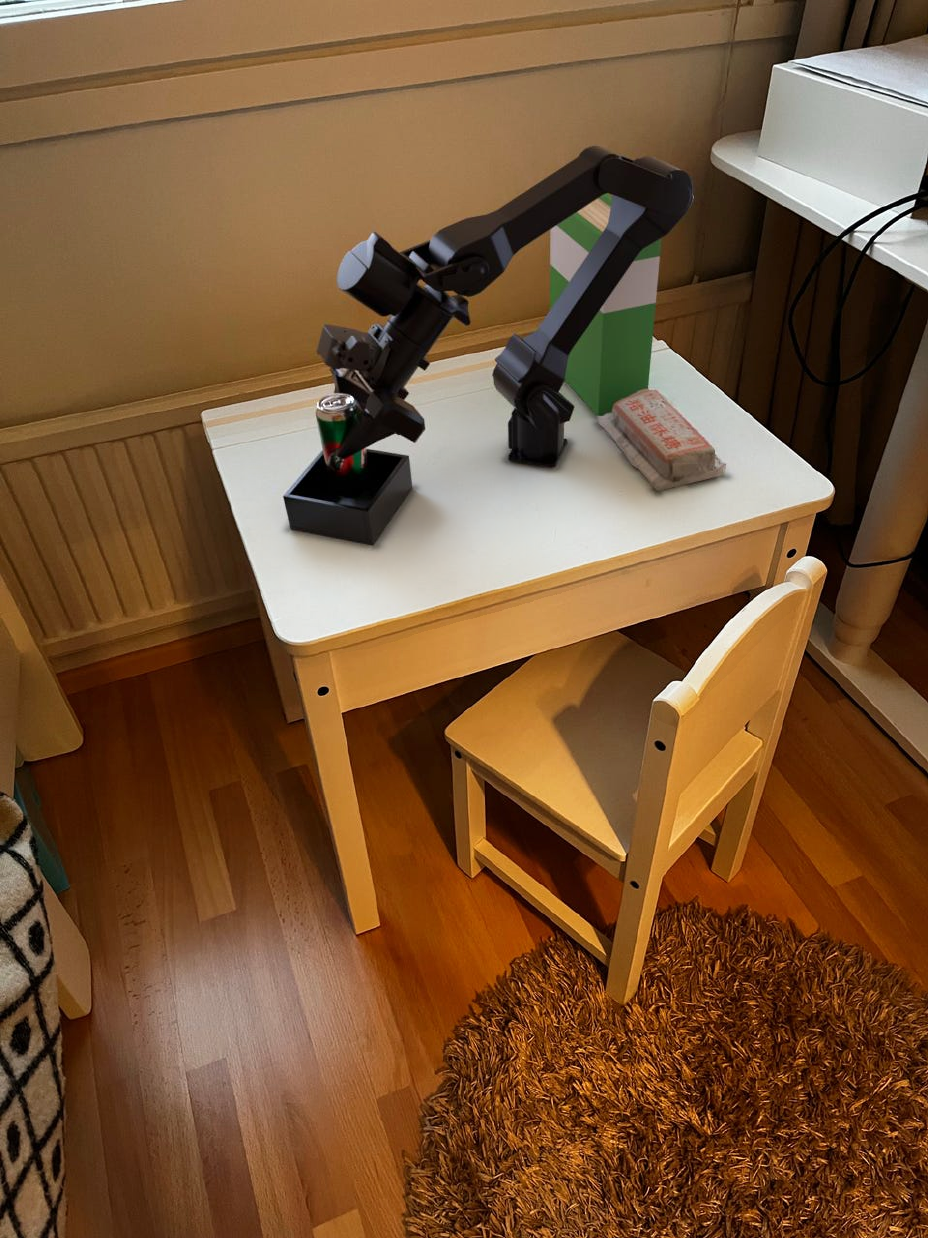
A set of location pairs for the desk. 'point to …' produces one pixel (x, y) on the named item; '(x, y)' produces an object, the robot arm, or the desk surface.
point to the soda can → (333, 426)
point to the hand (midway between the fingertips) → (332, 446)
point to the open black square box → (349, 500)
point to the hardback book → (607, 313)
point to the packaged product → (660, 441)
